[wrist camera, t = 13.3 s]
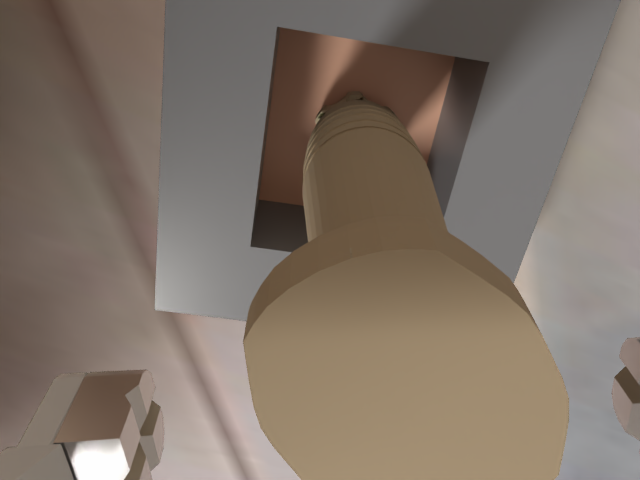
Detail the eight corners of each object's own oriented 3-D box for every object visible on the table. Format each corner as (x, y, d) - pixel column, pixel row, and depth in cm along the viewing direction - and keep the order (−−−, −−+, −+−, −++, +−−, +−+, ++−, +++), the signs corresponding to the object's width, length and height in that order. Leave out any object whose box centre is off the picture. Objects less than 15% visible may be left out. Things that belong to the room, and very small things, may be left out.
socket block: (462, 288, 27) (488, 350, 23) (178, 250, 26) (154, 309, 22) (571, -44, 21) (634, -36, 17) (198, -114, 19) (170, -123, 15)
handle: (371, 22, 21) (474, 195, 8) (443, 168, 24) (609, 477, 11) (257, 89, 22) (180, 338, 9) (339, 221, 25) (371, 561, 12)
